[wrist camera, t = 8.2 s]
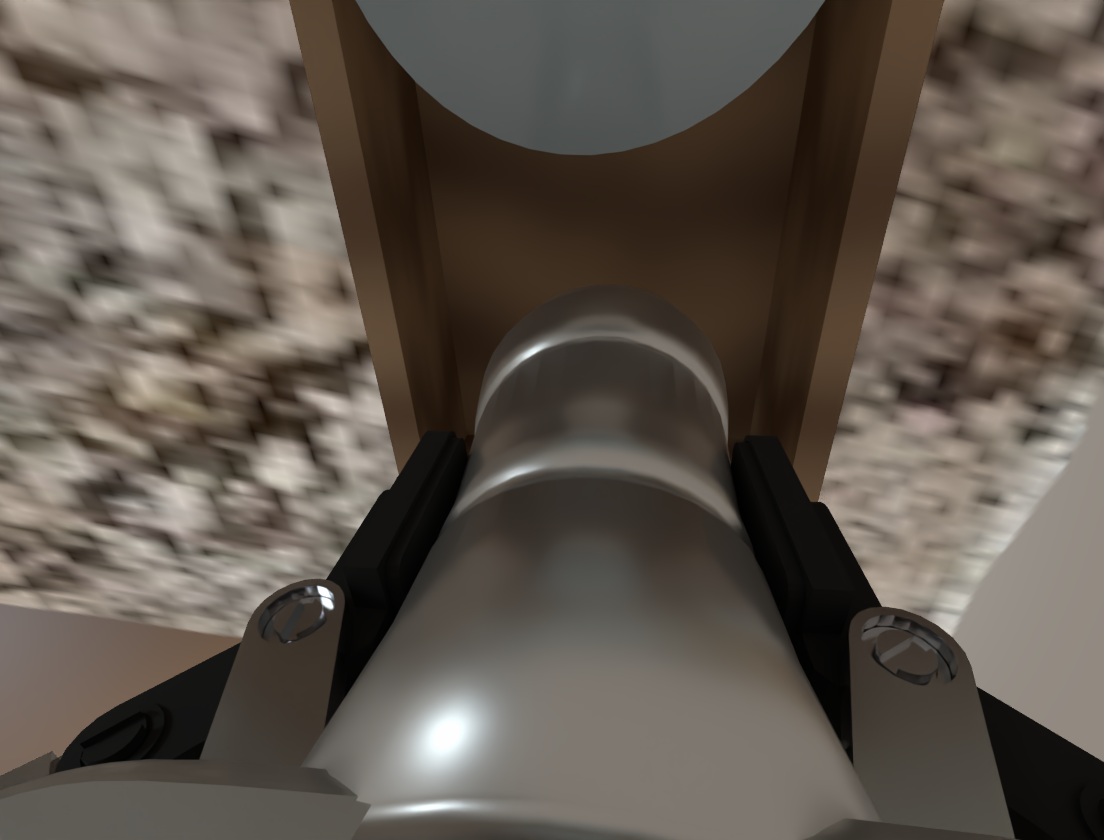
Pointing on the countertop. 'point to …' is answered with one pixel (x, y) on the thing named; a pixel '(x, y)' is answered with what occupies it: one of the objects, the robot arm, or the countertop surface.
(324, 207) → the countertop surface
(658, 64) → the jar
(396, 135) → the crate
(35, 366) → the countertop surface
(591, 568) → the grey metal bottle
